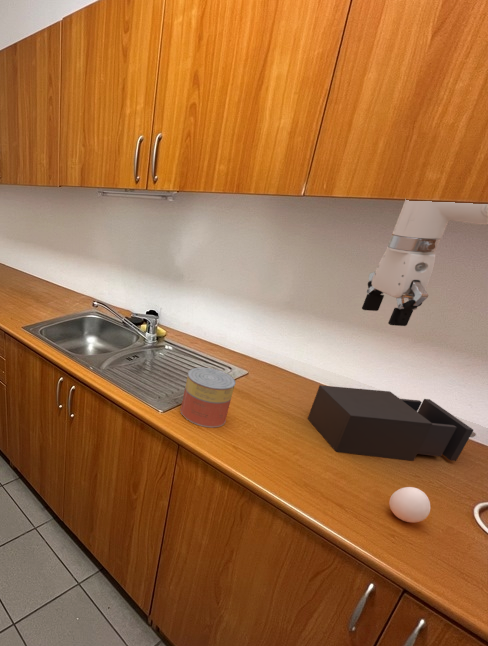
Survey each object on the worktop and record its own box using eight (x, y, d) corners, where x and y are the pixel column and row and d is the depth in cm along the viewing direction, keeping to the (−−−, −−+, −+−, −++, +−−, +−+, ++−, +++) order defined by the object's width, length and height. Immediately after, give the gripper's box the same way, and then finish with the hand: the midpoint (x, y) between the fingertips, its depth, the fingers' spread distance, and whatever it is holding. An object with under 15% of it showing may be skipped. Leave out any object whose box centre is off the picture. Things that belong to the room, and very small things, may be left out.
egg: (388, 522, 77) (403, 493, 74) (380, 503, 81) (394, 475, 78) (426, 534, 74) (442, 505, 71) (416, 514, 78) (431, 485, 75)
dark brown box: (375, 425, 104) (390, 391, 100) (413, 461, 92) (432, 423, 88) (307, 418, 107) (319, 385, 103) (335, 451, 95) (350, 415, 91)
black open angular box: (433, 430, 100) (448, 400, 97) (477, 463, 89) (496, 432, 86) (349, 421, 104) (361, 393, 101) (381, 452, 93) (395, 421, 90)
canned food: (234, 419, 107) (245, 381, 103) (207, 432, 102) (217, 393, 98) (197, 399, 116) (205, 363, 112) (171, 410, 112) (178, 373, 107)
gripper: (467, 253, 77) (430, 333, 84) (405, 237, 93) (377, 306, 99) (421, 252, 79) (388, 330, 86) (367, 236, 94) (343, 304, 101)
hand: (382, 317), depth 93 cm, fingers open, 9 cm apart
